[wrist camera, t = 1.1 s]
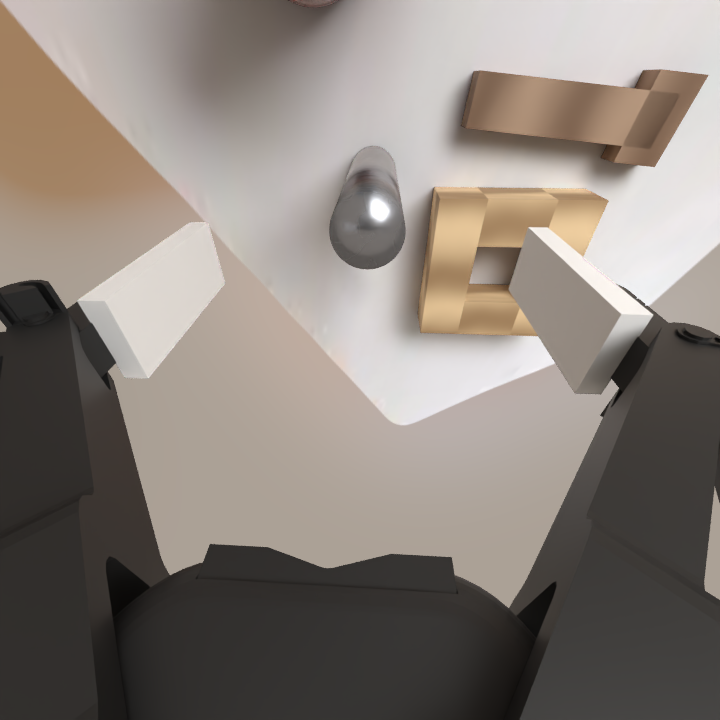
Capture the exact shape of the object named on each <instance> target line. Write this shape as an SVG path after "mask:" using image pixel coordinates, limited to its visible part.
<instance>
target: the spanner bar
mask: <svg viewBox="0 0 720 720" xmlns="http://www.w3.org/2000/svg"><path fill="white" fill-rule="evenodd" d="M707 77H708V75H704V74H695V73H687V72H678V71H670V70H643V72H642V74H641V76H640V78H639V80H638V82H637V84H636V86H635V88H626V87H617V86H609V85H600V84H591V83H583V82H574V81H566V80H557V79H548V78H540V77H531V76H523V75H514V74H505V73H497V72H488V71H474V73H473V77H472V81H471V86H470V90H469V94H468V98H467V103H466V107H465V111H464V115H463V120H462V124H461V126H463V127H465V128H468V129H477V130H486V131H495V132H504V133H512V134H521V135H530V136H539V137H548V138H557V139H565V140H574V141H583V142H592V143H601V144H607V146H606V148H605V150H604V152H603V154H602V156H601V158H602V159H605V160H608V161H611V162H615V163H624V164H632V165H641V166H650V167H655V166H656V164H657V162H658V160H659V159H660V157H661V155H662V154H663V152H664V150H665V148H666V147H667V145H668V143H669V142H670V140H671V138H672V137H673V135H674V133H675V131H676V130H677V128H678V126H679V125H680V123H681V121H682V120H683V118H684V116H685V114H686V113H687V111H688V109H689V108H690V106H691V104H692V102H693V101H694V99H695V97H696V96H697V94H698V92H699V91H700V89H701V87H702V85H703V84H704V82H705V80H706V79H707Z"/></svg>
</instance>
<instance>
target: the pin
mask: <svg viewBox="0 0 720 720" xmlns="http://www.w3.org/2000/svg"><path fill="white" fill-rule="evenodd" d="M329 233H330V240H331V243H332V246H333V248H334V250H335V252H336V253H337V254H338V256H339V257H340V258H341V259H342V260H343V261H345V262H346V263H348V264H349V265H351V266H353V267H356V268H360V269H375V268H379V267H381V266H384V265H386V264H387V263H389V262H390V261H392V260H393V259H394V258H395V257H396V255H397V254H398V253H399V251H400V250H401V248H402V245H403V243H404V239H405V222H404V216H403V210H402V204H401V198H400V192H399V186H398V180H397V174H396V168H395V163H394V160H393V158H392V156H391V155H390V154H389V153H388V152H387V151H386V150H385V149H383V148H381V147H378V146H369V147H366V148H364V149H362V150H361V151H359V152H358V153H357V155H356V156H355V158H354V159H353V162H352V164H351V167H350V170H349V172H348V175H347V178H346V180H345V183H344V186H343V188H342V191H341V194H340V196H339V199H338V202H337V204H336V207H335V210H334V212H333V215H332V218H331V221H330V228H329Z"/></svg>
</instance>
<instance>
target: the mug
mask: <svg viewBox="0 0 720 720" xmlns="http://www.w3.org/2000/svg"><path fill="white" fill-rule="evenodd" d="M289 1H291V2H293V3H295V4H297V5H300V6H304V7H312V8H316V7H323V6H327V5H330V4H332V3H334V2H336V1H338V0H289Z"/></svg>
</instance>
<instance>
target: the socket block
mask: <svg viewBox="0 0 720 720" xmlns="http://www.w3.org/2000/svg"><path fill="white" fill-rule="evenodd" d="M607 203H608V200H606V199H604V198H602V197H600V196H598V195H597V194H595V193H593V192H591V191H589V190H587V189H559V188H469V187H434V192H433V200H432V208H431V215H430V223H429V231H428V238H427V246H426V253H425V261H424V269H423V276H422V284H421V292H420V299H419V307H418V319H419V325H420V332H421V333H449V334H484V335H519V336H538V335H537V333H536V332H535V330H534V329H533V327H532V326H531V324H530V323H529V321H528V319H527V318H526V316H525V315H524V313H523V312H522V310H521V308H520V307H519V305H518V304H517V302H516V301H515V299H514V297H513V296H512V294H511V293H510V291H509V290H508V289H509V286H510V285H496V284H469V281H470V276H471V272H472V268H473V264H474V259H475V255H476V251H477V247H522V245H523V242H524V239H525V236H526V232H527V229H528V227H547V228H549V229H550V230H551V231H552V232H554V233H555V234H556V235H557V236H558V237H560V238H561V239H562V240H563V241H565V242H566V243H567V244H568V245H569V246H571V247H572V248H573V249H574V250H575V251H577V252H578V253H579V254H580V255H581V256H584V254H585V252H586V249H587V247H588V245H589V243H590V241H591V238H592V236H593V234H594V232H595V229H596V227H597V225H598V223H599V221H600V218H601V216H602V214H603V212H604V210H605V207H606V205H607ZM519 255H520V254H519ZM518 258H519V257H518ZM513 274H514V273H513ZM512 277H513V276H512ZM511 280H512V279H511ZM510 283H511V282H510Z"/></svg>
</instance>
